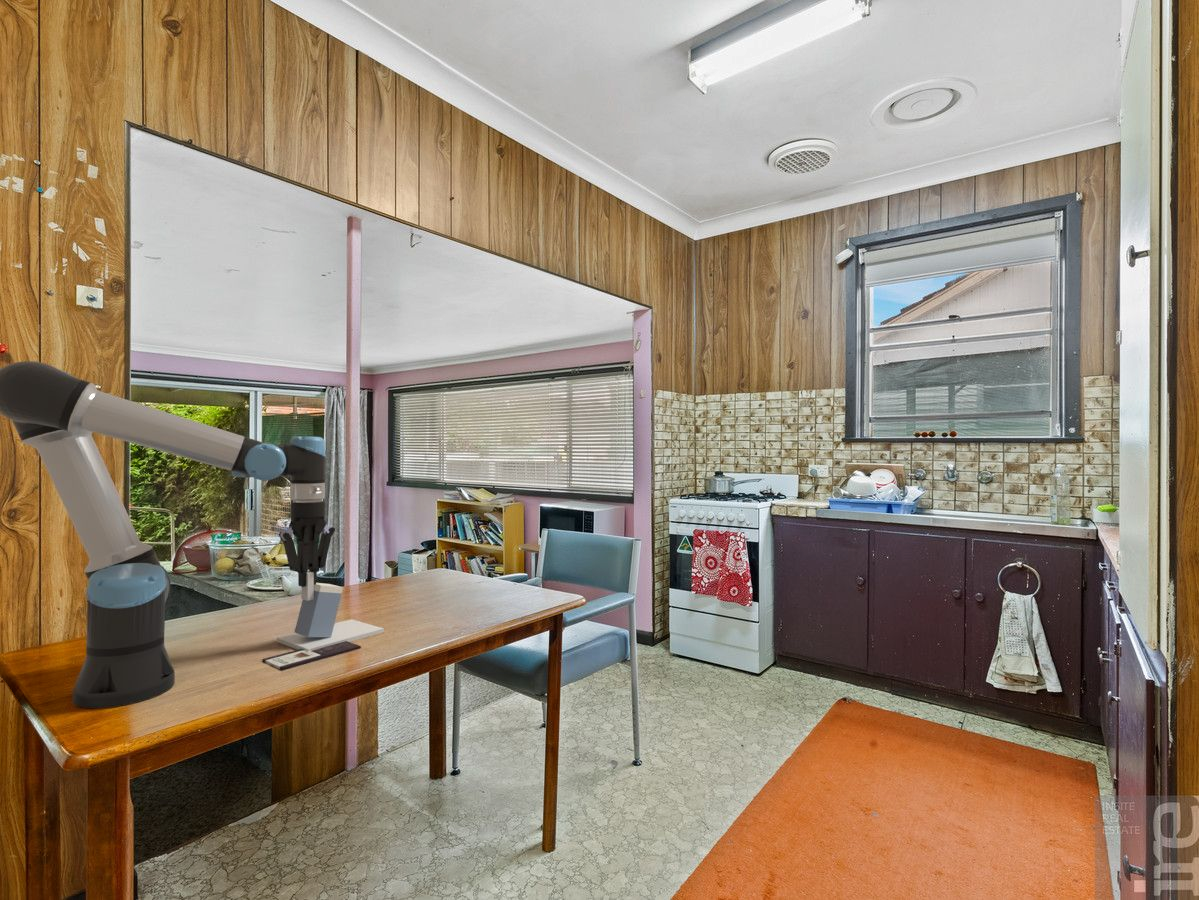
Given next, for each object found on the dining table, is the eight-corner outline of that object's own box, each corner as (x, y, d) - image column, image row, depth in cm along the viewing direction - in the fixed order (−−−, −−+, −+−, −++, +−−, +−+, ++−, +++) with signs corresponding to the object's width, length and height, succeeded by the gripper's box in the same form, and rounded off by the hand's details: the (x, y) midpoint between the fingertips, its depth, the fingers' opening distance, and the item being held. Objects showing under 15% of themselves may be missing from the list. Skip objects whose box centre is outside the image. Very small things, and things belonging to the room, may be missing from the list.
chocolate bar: (360, 646, 140) (282, 667, 125) (360, 650, 140) (282, 672, 125) (339, 638, 145) (262, 659, 130) (339, 642, 145) (262, 663, 130)
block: (308, 637, 139) (321, 585, 142) (294, 632, 143) (307, 582, 145) (331, 637, 144) (343, 587, 147) (317, 632, 148) (329, 584, 150)
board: (308, 653, 135) (308, 649, 135) (276, 641, 143) (276, 637, 143) (383, 632, 152) (384, 628, 152) (351, 622, 160) (351, 619, 160)
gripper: (289, 503, 135) (288, 607, 135) (342, 499, 145) (341, 596, 145) (272, 501, 139) (271, 602, 139) (324, 498, 150) (324, 591, 150)
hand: (307, 599), depth 142 cm, fingers closed
